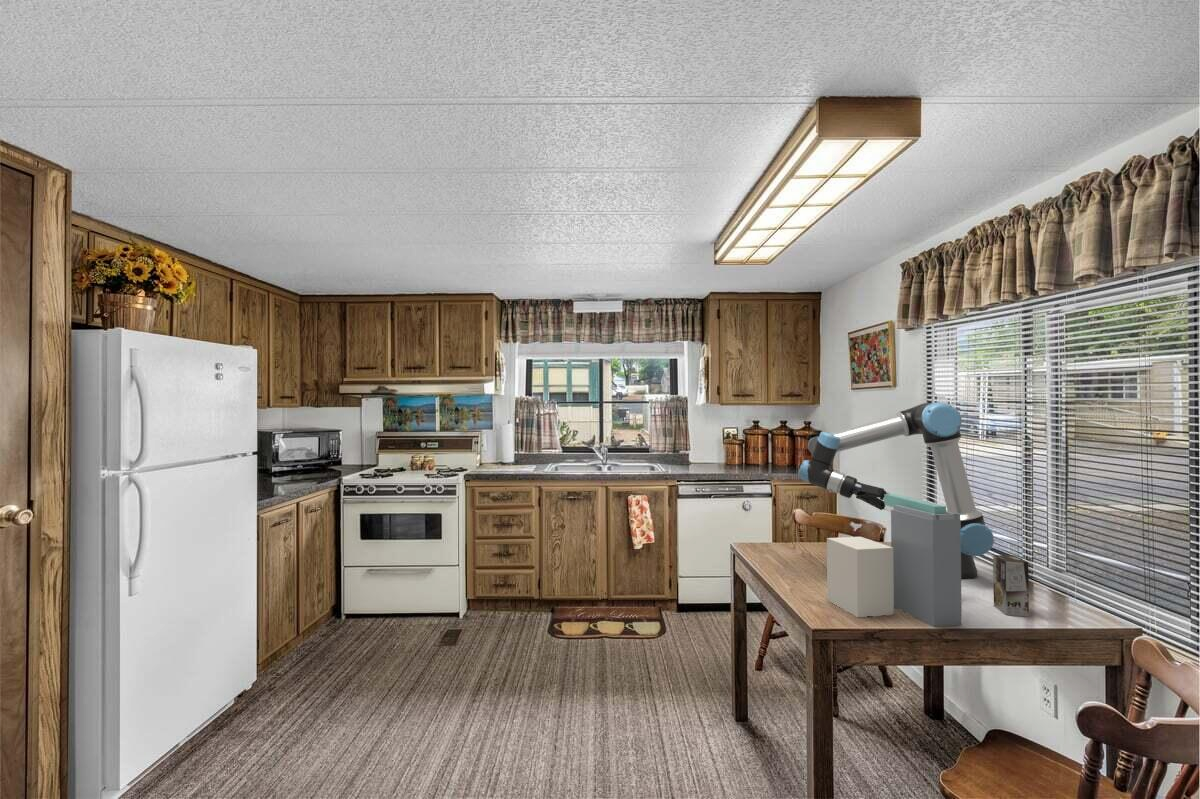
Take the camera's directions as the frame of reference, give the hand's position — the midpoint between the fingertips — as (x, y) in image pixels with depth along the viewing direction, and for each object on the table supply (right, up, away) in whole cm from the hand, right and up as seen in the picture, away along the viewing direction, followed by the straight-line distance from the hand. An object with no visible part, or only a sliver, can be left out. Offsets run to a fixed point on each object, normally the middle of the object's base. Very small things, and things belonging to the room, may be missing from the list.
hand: (905, 508), depth 207 cm
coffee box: (+21, -27, -22) cm, 41 cm away
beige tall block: (-24, -27, -19) cm, 41 cm away
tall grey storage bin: (-7, -27, -25) cm, 38 cm away
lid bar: (-8, +3, -20) cm, 21 cm away
